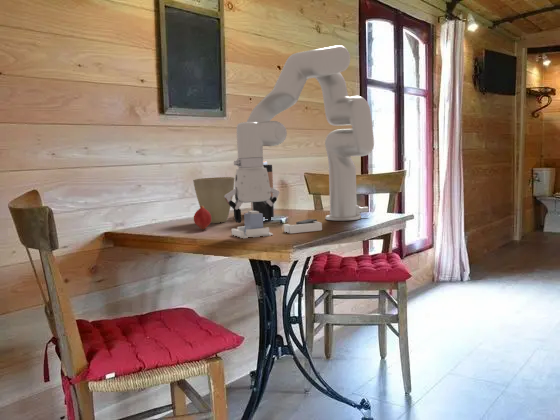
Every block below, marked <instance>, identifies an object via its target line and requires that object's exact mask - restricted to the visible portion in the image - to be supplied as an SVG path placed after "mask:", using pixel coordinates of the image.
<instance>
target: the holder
mask: <svg viewBox="0 0 560 420" xmlns="http://www.w3.org/2000/svg"><path fill="white" fill-rule="evenodd" d="M233 235H234V236H233ZM271 235H272V236H273V235H274V233H273V232H270V227H263V228H257V229H246V233H245V225H244V226H243V225H242V226H237V227H236V228H231V236H233V237H235V236H237V237H236V238H238V237H240V238H239V239H241V238H243V239H249V238H248V237H253V238H261V237H260V236H263V237H270V236H271Z"/></svg>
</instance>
